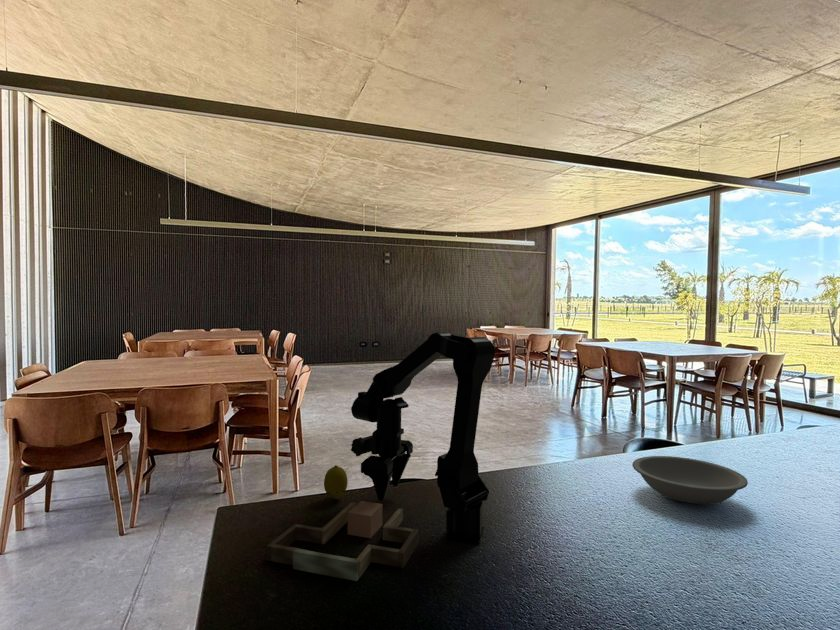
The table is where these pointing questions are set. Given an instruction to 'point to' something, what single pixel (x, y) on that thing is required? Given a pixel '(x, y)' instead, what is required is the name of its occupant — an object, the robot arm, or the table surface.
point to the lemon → (335, 481)
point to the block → (365, 519)
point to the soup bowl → (689, 479)
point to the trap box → (339, 564)
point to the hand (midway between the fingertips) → (388, 493)
